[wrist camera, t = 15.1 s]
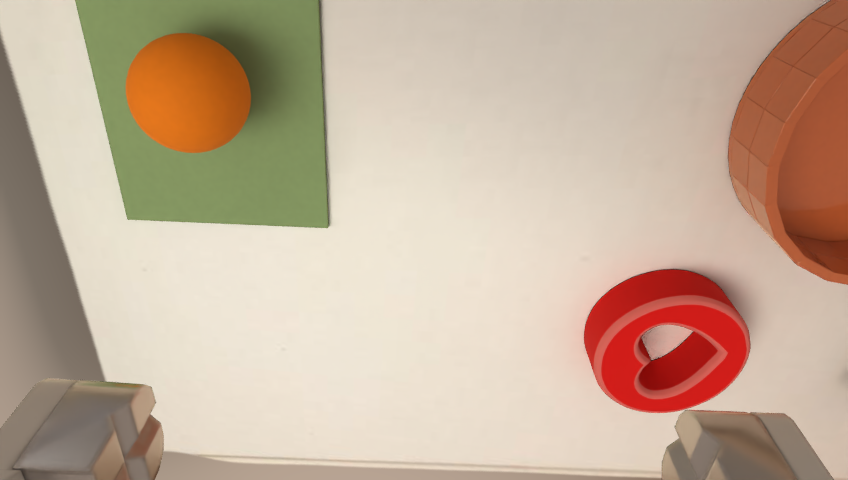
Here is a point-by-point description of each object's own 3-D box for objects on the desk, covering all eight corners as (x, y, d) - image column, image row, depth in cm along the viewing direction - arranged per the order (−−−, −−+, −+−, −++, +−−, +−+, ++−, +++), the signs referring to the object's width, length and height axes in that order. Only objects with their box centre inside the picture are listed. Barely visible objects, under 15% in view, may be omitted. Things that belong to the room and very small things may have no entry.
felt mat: (46, -134, 27) (42, -135, 27) (313, -121, 27) (312, -121, 27) (129, 217, 36) (127, 219, 36) (328, 225, 36) (327, 228, 36)
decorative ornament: (750, 344, 41) (773, 377, 38) (619, 400, 44) (632, 435, 41) (699, 244, 37) (721, 273, 34) (559, 313, 40) (568, 344, 37)
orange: (133, 67, 31) (76, 102, 26) (205, -3, 29) (160, 20, 24) (213, 147, 34) (175, 193, 29) (285, 86, 32) (259, 125, 27)
